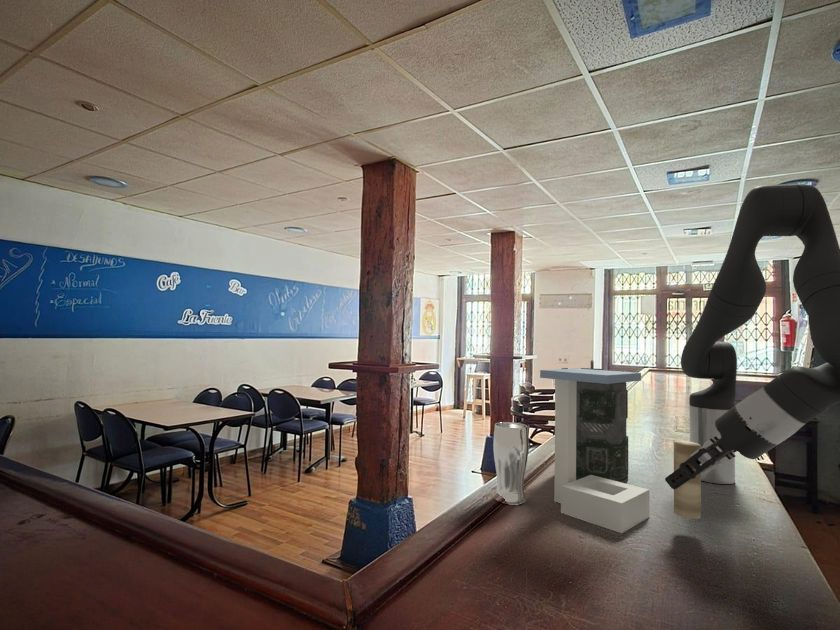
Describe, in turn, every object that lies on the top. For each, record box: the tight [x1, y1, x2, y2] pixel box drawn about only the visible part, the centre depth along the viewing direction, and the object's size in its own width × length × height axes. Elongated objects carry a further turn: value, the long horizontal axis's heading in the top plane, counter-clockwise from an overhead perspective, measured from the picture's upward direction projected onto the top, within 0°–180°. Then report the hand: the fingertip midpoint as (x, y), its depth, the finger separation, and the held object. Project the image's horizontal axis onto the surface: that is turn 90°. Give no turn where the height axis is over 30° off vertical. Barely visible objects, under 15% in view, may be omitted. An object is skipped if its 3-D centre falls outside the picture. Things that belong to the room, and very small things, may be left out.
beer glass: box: [492, 421, 529, 504], centre depth 92 cm, size 7×7×15 cm
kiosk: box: [539, 368, 651, 534], centre depth 87 cm, size 14×16×26 cm
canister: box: [561, 359, 629, 484], centre depth 107 cm, size 16×16×28 cm
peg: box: [673, 440, 702, 520], centre depth 78 cm, size 4×4×12 cm
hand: (674, 481), depth 79 cm, fingers closed on peg, 4 cm apart
